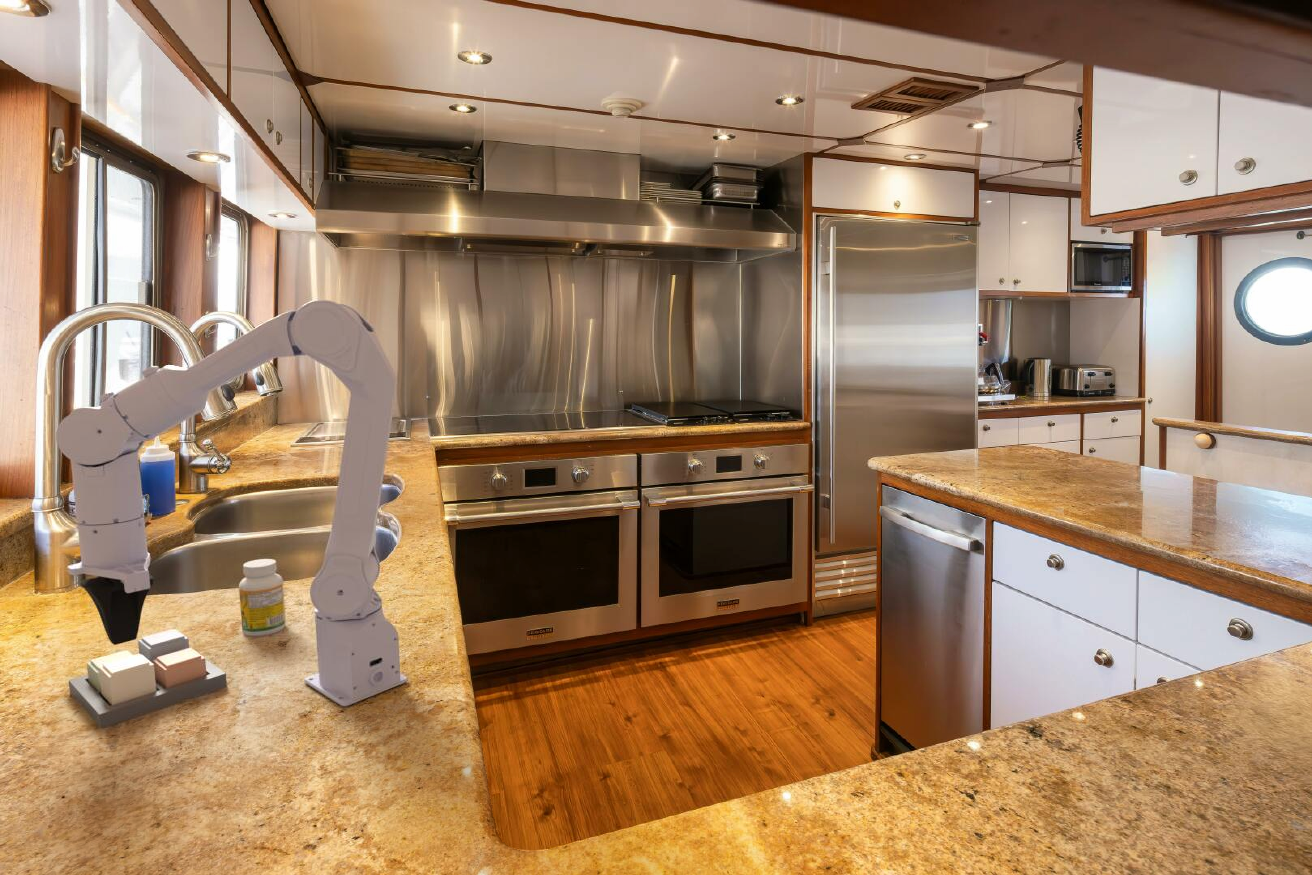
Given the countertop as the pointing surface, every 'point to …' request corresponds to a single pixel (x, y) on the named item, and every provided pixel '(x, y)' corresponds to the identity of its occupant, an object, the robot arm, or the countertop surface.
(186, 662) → the key terracotta
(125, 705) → the keypad board
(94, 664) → the key sage
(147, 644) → the key slate
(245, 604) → the supplement bottle
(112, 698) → the key cream
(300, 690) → the countertop surface
